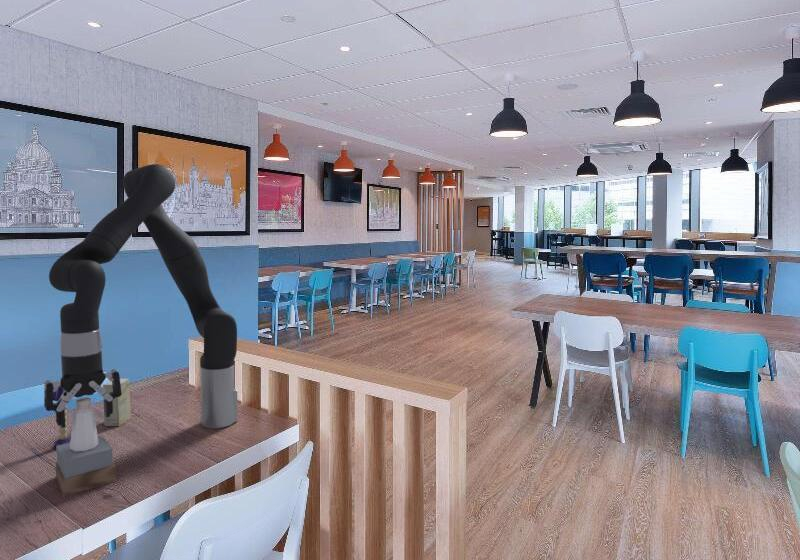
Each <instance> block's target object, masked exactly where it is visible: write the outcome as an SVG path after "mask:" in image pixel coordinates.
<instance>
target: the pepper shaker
mask: <svg viewBox="0 0 800 560" xmlns="http://www.w3.org/2000/svg"><path fill="white" fill-rule="evenodd" d="M75 400H76V401H75V403H76V410H74V411H73V414H72V415H73V417H72V426H71V435H70V436H71V437H70V439H71V443H70V449H71V450H73V451H75V452H79V451H87V450H90V449H93V448H95V447H96V446H97V445H98V444H99V443H98V436H99V435H98V431H97V423H96V416H95V410H94V408H92V407H91V401H92V398H90V397H79V398H78V399H75Z"/></svg>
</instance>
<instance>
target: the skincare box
mask: <svg viewBox="0 0 800 560" xmlns="http://www.w3.org/2000/svg"><path fill="white" fill-rule="evenodd" d="M120 385H121V393H122V394H121V396H120V397H116V398H114V399H113V413H112V414H110V417H107V418H106V417H105V414H104V413H103V417H104V426H105V427H108V426H109V427H120V426H122V425H123V424H125V423H126V422H127V420H128V421H129V420H131V419H132V411H131V392H130V391H131V389H130V378H123V377H122V378H121V377H120ZM102 388H103V389H105V390H106V391H107V392H108V393H110V392H112V391H113V388H112V381H107V382H105V383H104V384H103V383H102ZM102 398H103V401H104V400H105V398H104V397H103V396H102ZM130 418H131V419H130Z"/></svg>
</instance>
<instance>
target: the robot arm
mask: <svg viewBox="0 0 800 560" xmlns="http://www.w3.org/2000/svg"><path fill="white" fill-rule="evenodd" d="M175 179H176V178H175V177H174V174H173V173H172V171H171V170H170V169H169V168H168V167H166V166H165V165H163V164H159V163H157V164H156V163H153V164H146V165H144V166H141V167H137V168H135V169H131V170H129V171H127V172H126V173H125V174H124V176H123V178H122V185H123V186H122V187H123V190H124V192H125V194H126V197H127V198H126V199H125V200H124V201H123V202H122V203H121V204H119V205H117V207H115V208H114V209H112V210H111V211H110V212H108V213H107V214H106V215H105V216H104V217H103V218H101V219H100V220H99V222H98V223H96V225H94V227H93V228H92V229H91V230H90V232H89V233H87V235H86V236H85V238H84V239H83V240H82V241H81V242H79V243H78V244H76V245H75V246H73V247H72V248H70V249H69V250H68V251H67V252H65V253H63V254H62V255H61V256H59V258H57V259H56V261H54V262H53V264H52V266H51V267H50V270H49V274H48V279H49V283H50V285H51V286H52V287H53V288H54V289H56V290H57V291H61V292H65V293H66V292H67V293H69V292H70V293H75V296H74V301H73V302H71V303H70V302H69V303H67V304H64V305H63V306H62V307H61V309H60V311H59V312H60V314H59V317H60V319H59V320H60V341H59V342H60V344H59V345H60V358H61V360H60V361H61V379H60V380H54V381H53V380H46V381H45V382H44V393H43V394H44V397H43V398H44V400H43V402H44V404H43V406H44V408H45V410H46V411H47V412H50V411H51V412H52V411H53V412H55V422H56V424H57V426H58V427H59V426H61V428H63V427H65V411H64V408H65V406H66V405H67V406H68V403H71V401H72V400H73V399H74V398H78V399H79V398H83V396H93V395H94V394H95V393H98V394H99V395H100V396H101V397H102V398H103V397H104V398H105V400H104V399H103V415H104V414H105V417H106V418H107V417H110V414H112V413H113V399H114V398H116V397H120V396H121V394H122V393H121V385H120V378H121V377H120V372H118V370H116V369H112V370H111V371H108V372H104V371H103V370H104V369H103V366H104V365H103V350H102V349H103V343H102V335H101V332H100V319H99V317H100V315H99V314H100V313H99V310H100V306H101V303H102V299H103V296H104V295H103V294H104V290H105V287H106V281H107V280H106V278H107V277H106V274H105V273H106V272H105V270H104V268H103V267H102V265H103V264H107V263H110V262H111V261H112V260H113V259H114V258H115V257H116V256H117V255H118V253H119V252H120V250H121V249H122V248H123V246H124V245H126V244H127V243H126V242H127V241H128V240H129V239H130V238H131V236H132V235H133V234H134V233H135V232H136V230H137V229H138V228H139V227H140V226H141V224H142V223H144V225H145V227H146V228H147V231H148V232H149V234H150V237H151V239H152V240H153V242H154V244H155V246H156V248H157V249H158V251H159V254H160V256H161V259H162V260H163V262H164V264H165V266H166V269H167V271H168V273H169V274H170V276H171V278H172V280H173V281H174V283H175V286H177V288H178V290H179V292H180V294H182V296H183V298H184V300H185V301H186V304H187V306H188V309H189V312H190V314H191V317H192V319H193V322H194V324H195V325H194V326H195V328H196V330H197V333H198V334H199V336H201V337H202V338H203V354H202V355H201V357H200V359H199V362H200V364H199V367H200V369H199V372H200V373H199V374H200V415H201V416H200V421H201V422H200V423H201V426H202V427H204V428H207V429H222V428H225V427H228V426H231V425H232V424H234V423H236V422H237V423H238V421H239V420H238V419H239V418H238V416H239V415H238V390H237V389H236V388H235V359H236V356H237V349H238V325H237V321H236V319H235V317H234V316H233V315H231V314H229V313H228V312H226V311H224V310H223V309H222V308H221V306H220V305H219V303H218V301H217V300H216V298H215V296H214V294H213V292H212V290H211V287H210V281H209V275H208V271H207V267H206V263H205V261H204V259H203V256H202V255H201V252H200V250H199V248H198V245H197V244H196V241H194V239H193V238H192V237H191V236H190V235H189V234H188V233H187V232H185V231H184V230H183V229H182V228H180V227H179V226H178V225H177V224H176V223H175V222H174V221H173V220H172V219H171V218H170V217H169V216H168V214H167V212H166V210H165V209H164V207H163V205H162V204H163V203H165V202H166V201H167V200H168V199H169V198H170V197H171V196H172V195H173V194H174V192H175V189H176V188H175V187H176V180H175ZM106 379H108V380H109V381H112V388H113V391H112V392H110V393H108V392H107V391H106V390H105V389H103V386H102V385H103V383H104V382H105V380H106ZM109 381H108V382H109ZM59 386H61V387H62V388H64V389H65V391H64V392H63V394H62V395H61V397H60V399H59V400H58V401H56V402H54V401H53V392H55V391H56V390H57V388H58V387H59ZM69 396H70V397H69Z"/></svg>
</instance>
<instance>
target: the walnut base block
mask: <svg viewBox="0 0 800 560" xmlns="http://www.w3.org/2000/svg"><path fill="white" fill-rule="evenodd" d="M116 468H117V466H116V463H114V461H113V465H112V466H109V467H105V468H102V469H98V470H95V471H91V472H88V473H84V474H81V475H77V476H74V477H70V478H67V479H65V477H64V475H63V473H62V471H61V469H60V467H59V465H58V463H57V461H55V475H56V481H57V483H58V487H59V489H60V491H61V495H62V497H65V495H66V496H70V495H73V494H77V493H80V492H83V491H87V490H90V489H93V488H97V487H100V486H104V485H107V484H110V483H114V482H115V483H116V482H117V469H116Z"/></svg>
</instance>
